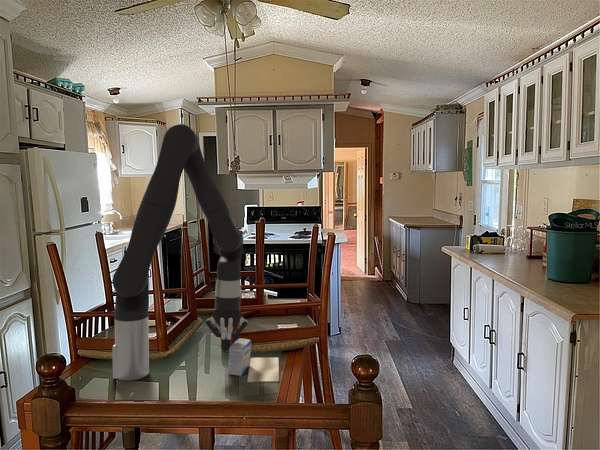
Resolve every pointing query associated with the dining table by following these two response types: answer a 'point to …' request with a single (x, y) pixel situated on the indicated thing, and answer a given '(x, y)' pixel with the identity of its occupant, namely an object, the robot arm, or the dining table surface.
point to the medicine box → (239, 356)
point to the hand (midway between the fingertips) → (226, 350)
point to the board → (263, 370)
